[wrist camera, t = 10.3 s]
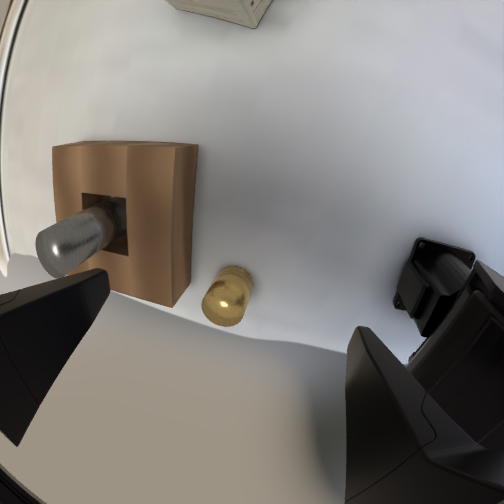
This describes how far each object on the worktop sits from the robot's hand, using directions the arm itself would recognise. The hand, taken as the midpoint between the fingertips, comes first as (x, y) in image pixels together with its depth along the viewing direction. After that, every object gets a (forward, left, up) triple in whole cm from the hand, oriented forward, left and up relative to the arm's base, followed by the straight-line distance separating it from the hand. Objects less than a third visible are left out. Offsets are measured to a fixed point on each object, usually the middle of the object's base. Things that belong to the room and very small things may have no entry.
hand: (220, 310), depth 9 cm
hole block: (+12, +2, -13) cm, 18 cm away
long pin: (+12, +2, -13) cm, 18 cm away
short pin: (+2, +7, -13) cm, 15 cm away
